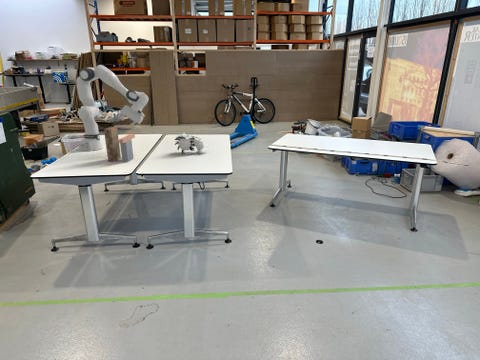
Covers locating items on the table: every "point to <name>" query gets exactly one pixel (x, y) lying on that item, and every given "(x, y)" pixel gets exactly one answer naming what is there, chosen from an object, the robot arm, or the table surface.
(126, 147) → the blue-grey block
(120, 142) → the bar
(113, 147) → the pillar
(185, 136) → the figurine
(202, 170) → the table surface
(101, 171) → the table surface
